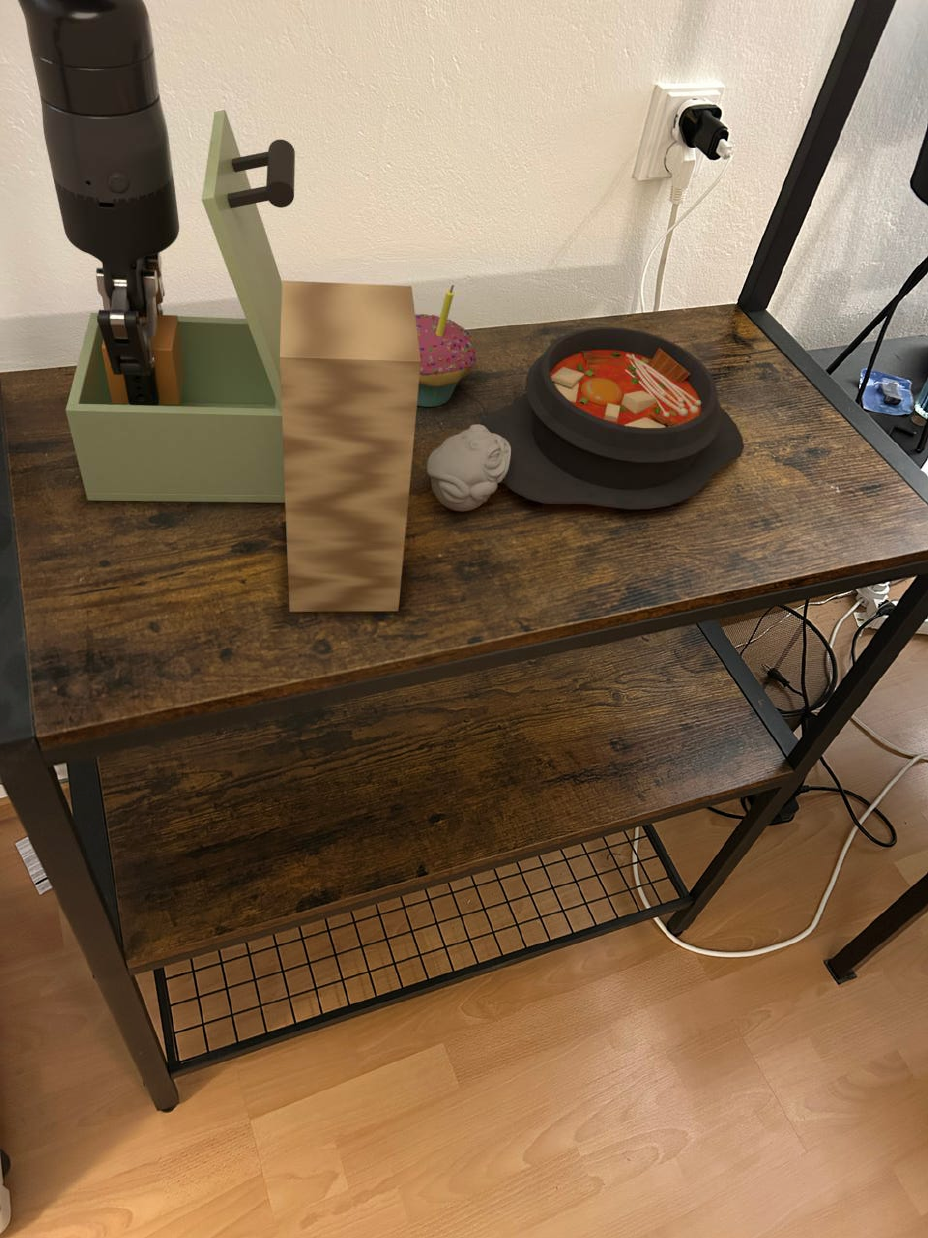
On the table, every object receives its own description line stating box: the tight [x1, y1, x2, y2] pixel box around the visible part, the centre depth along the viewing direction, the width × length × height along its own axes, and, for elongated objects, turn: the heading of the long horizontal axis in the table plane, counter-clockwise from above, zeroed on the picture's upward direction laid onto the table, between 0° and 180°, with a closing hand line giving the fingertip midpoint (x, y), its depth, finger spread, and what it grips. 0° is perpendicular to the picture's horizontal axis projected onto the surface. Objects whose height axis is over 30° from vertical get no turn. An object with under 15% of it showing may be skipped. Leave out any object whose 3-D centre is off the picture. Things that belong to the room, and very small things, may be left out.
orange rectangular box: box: [102, 314, 184, 405], centre depth 74 cm, size 5×5×5 cm
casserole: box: [479, 326, 745, 510], centre depth 84 cm, size 25×19×8 cm
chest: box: [65, 312, 285, 504], centre depth 78 cm, size 16×13×9 cm
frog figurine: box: [426, 423, 511, 512], centre depth 78 cm, size 6×7×7 cm
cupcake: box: [415, 284, 477, 408], centre depth 86 cm, size 9×8×12 cm
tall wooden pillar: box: [280, 280, 421, 613], centre depth 66 cm, size 8×8×22 cm
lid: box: [201, 109, 296, 411], centre depth 69 cm, size 16×13×5 cm
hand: (148, 382), depth 76 cm, fingers closed on orange rectangular box, 4 cm apart
